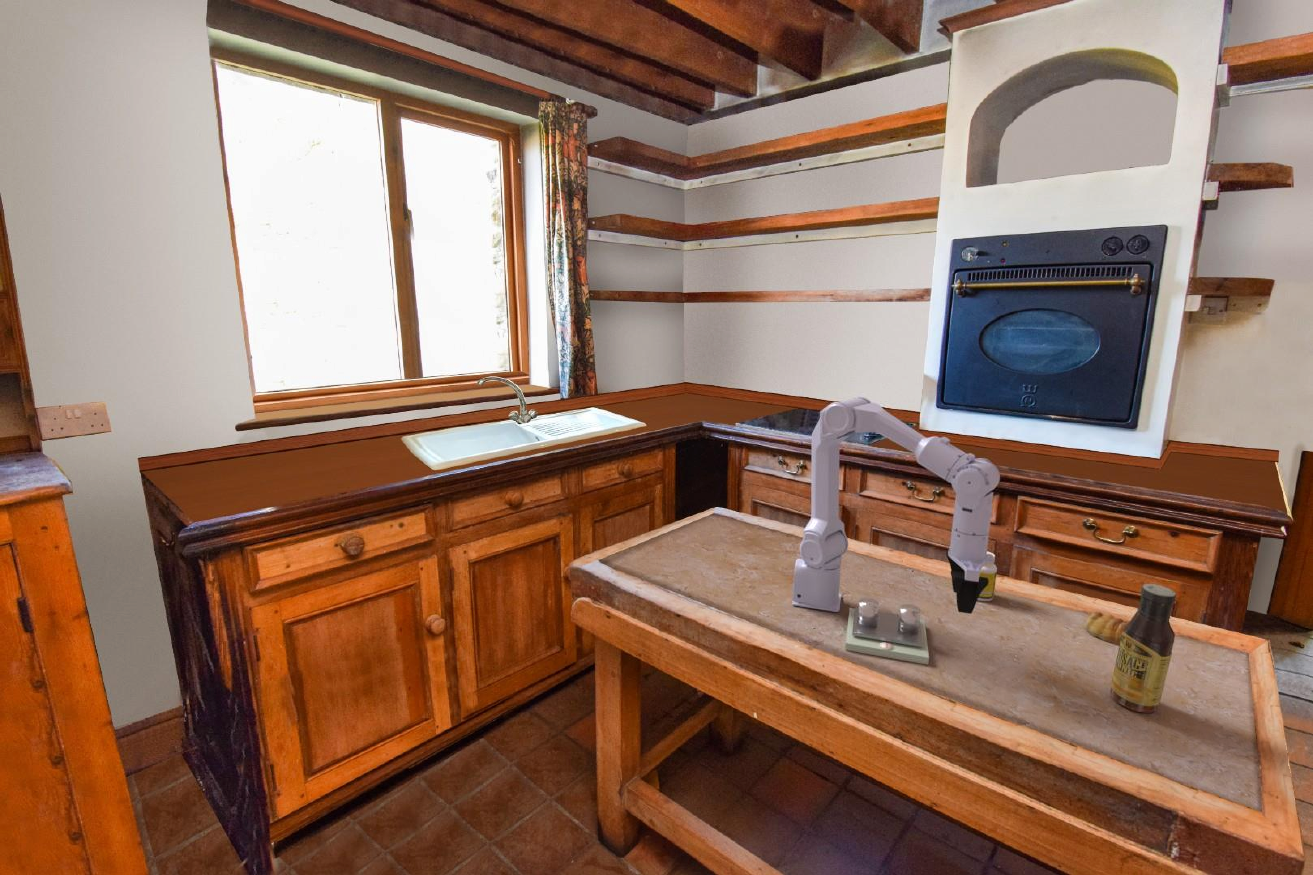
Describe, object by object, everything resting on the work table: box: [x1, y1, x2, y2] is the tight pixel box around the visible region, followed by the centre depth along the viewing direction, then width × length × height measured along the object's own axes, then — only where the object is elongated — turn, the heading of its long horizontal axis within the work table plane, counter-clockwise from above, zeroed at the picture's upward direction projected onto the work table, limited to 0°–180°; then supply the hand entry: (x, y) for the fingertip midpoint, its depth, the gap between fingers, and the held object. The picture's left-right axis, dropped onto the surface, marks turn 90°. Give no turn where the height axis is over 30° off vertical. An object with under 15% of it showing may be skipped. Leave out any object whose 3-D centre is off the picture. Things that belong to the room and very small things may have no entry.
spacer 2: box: [898, 603, 921, 633], centre depth 115 cm, size 4×4×4 cm
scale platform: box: [852, 607, 922, 647], centre depth 117 cm, size 12×10×2 cm
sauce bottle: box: [1110, 583, 1177, 714], centre depth 95 cm, size 6×6×20 cm
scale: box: [844, 607, 930, 666], centre depth 116 cm, size 14×14×2 cm
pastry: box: [1084, 610, 1128, 646], centre depth 116 cm, size 9×7×4 cm
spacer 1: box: [857, 597, 880, 627], centre depth 117 cm, size 4×4×4 cm
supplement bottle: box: [977, 550, 998, 602], centre depth 131 cm, size 5×5×10 cm
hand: (962, 601), depth 109 cm, fingers open, 7 cm apart
